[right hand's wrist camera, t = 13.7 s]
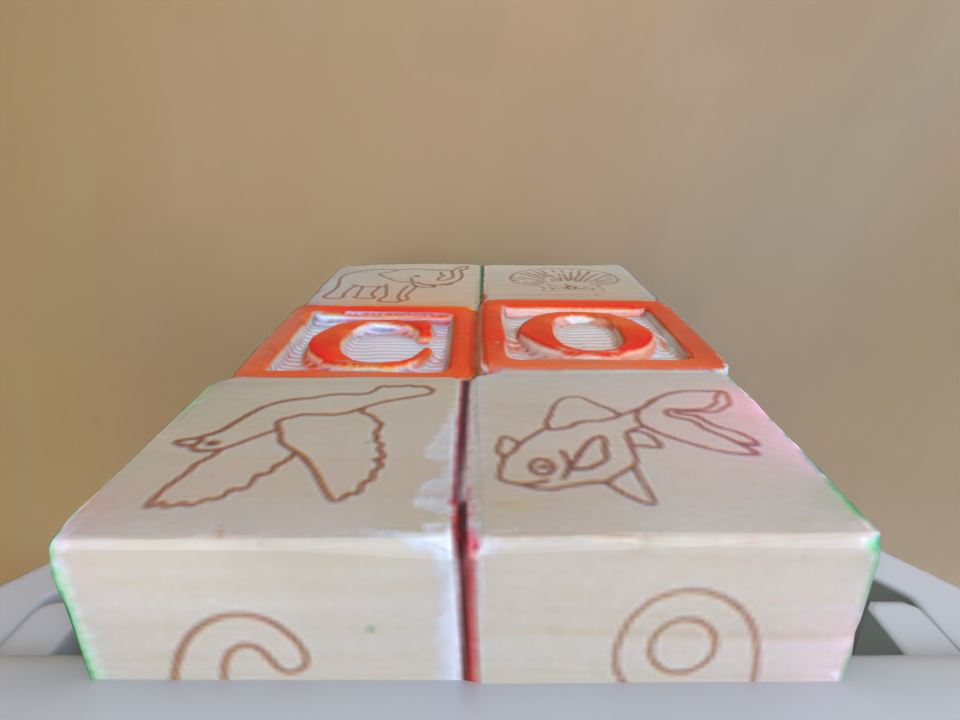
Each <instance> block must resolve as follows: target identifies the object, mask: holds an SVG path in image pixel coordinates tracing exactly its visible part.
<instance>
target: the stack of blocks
mask: <svg viewBox="0 0 960 720" xmlns="http://www.w3.org/2000/svg"><path fill="white" fill-rule="evenodd" d="M728 368H729V366H728V365H727V364H726V363H725V361H724V360H723V359H722V358H721V357H720V356H719V355H718V354H717V353H716V352H715V351H714V350H713V349H712V348H711V347H710V346H709V345H708V344H707V343H706V342H705V341H704V340H703V339H702V338H701V337H700V336H699V335H698V334H697V333H695V332H694V331H693V330H692V329H691V328H690V327H689V326H688V325H687V324H686V323H685V322H684V321H683V320H681V319H680V318H679V317H678V316H677V315H676V314H675V313H674V312H673V311H672V310H671V309H670V308H669V307H668V306H666V305H664V304H662V303H660V302H658V300H657V297H655V296H654V295H653V294H652V293H651V292H650V291H648V290H647V289H646V288H645V287H644V286H643V285H642V284H641V283H640V282H639V281H638V280H636V279H635V278H634V277H633V276H632V275H631V274H630V273H629V272H628V271H627V270H625V269H624V268H623V267H622V266H619V265H490V266H479V265H470V264H387V265H364V266H348V267H345V268H342V269H340V270H338V271H337V272H336V273H335V274H334V275H333V276H332V277H330V278H329V279H328V280H327V281H326V282H325V284H324V285H323V286H322V287H321V288H320V289H319V290H318V291H317V293H316V294H315V295H314V296H313V297H312V298H311V299H310V301H309V302H308V303H307V304H306V305H303V306H301V307H299V308H297V309H296V310H295V311H293V312H292V314H291V315H290V316H289V317H288V318H287V319H286V320H285V321H284V322H283V323H282V324H281V325H280V326H279V327H278V328H277V329H276V330H275V331H274V332H273V333H272V335H271V336H269V337H268V338H267V339H266V340H265V341H264V342H263V343H262V344H261V345H260V346H259V347H258V348H257V349H256V350H255V351H254V352H253V353H252V354H251V356H250V357H249V358H248V359H247V360H246V361H245V362H244V364H243V365H242V366H241V367H240V368H239V369H238V370H237V372H236V373H235V374H234V376H233V378H231V379H225V380H221V381H218V382H216V383H214V384H211V385H209V386H208V387H207V388H206V389H205V390H204V391H203V392H202V393H201V394H200V395H199V396H198V397H197V398H196V399H195V400H194V401H193V402H192V403H190V404H189V405H188V406H187V407H186V408H185V409H184V410H183V411H182V412H181V413H180V414H179V415H178V416H177V417H176V418H175V419H174V420H173V421H172V422H171V423H169V424H168V425H167V426H166V427H165V428H164V429H163V430H162V431H161V432H160V433H159V434H158V435H156V436H155V437H154V438H153V439H152V440H151V441H150V442H149V443H148V444H147V445H146V446H145V447H144V448H143V449H142V450H141V451H140V452H139V453H138V454H137V455H136V456H135V457H134V458H133V459H132V460H131V461H130V462H129V463H128V464H127V465H126V466H124V467H123V468H122V469H121V470H120V471H119V472H118V473H117V474H116V475H115V476H114V477H113V478H112V479H111V480H109V481H108V482H107V483H106V484H105V485H104V486H103V487H102V488H101V489H100V490H99V491H98V492H97V493H96V494H94V495H93V496H92V497H91V498H90V499H89V500H88V501H87V502H86V503H85V504H84V505H83V506H82V507H81V508H79V509H78V510H77V511H76V512H75V513H74V514H73V515H72V516H71V517H70V518H69V519H68V521H67V522H66V523H65V524H64V525H63V527H62V528H61V529H60V530H59V531H58V533H57V534H56V535H55V536H54V537H53V539H52V540H51V541H50V546H49V556H50V565H51V574H52V578H53V580H54V583H55V585H56V587H57V589H58V591H59V593H60V596H61V598H62V600H63V602H64V605H65V607H66V610H67V613H68V616H69V619H70V622H71V625H72V628H73V630H74V633H75V636H76V639H77V642H78V645H79V648H80V650H81V653H82V656H83V659H84V662H85V664H86V667H87V670H88V673H89V675H90V678H91V679H113V680H465V681H470V682H476V683H481V684H523V683H636V682H795V681H843V680H844V678H845V675H846V673H847V670H848V668H849V665H850V662H851V656H852V649H853V642H854V636H855V631H856V629H857V627H858V624H859V622H860V620H861V617H862V614H863V611H864V607H865V604H866V601H867V598H868V594H869V591H870V588H871V585H872V582H873V579H874V576H875V573H876V570H877V567H878V564H879V559H880V552H881V538H880V532H879V531H878V530H877V529H876V528H875V527H874V526H873V525H872V524H871V523H870V522H869V521H868V520H867V519H866V518H865V517H864V516H863V515H862V514H861V513H860V512H859V510H858V509H857V508H856V507H855V506H854V505H853V504H852V503H851V502H850V501H849V500H848V499H847V497H846V496H845V495H844V494H843V493H842V492H841V491H840V490H839V489H838V488H837V487H836V486H835V484H834V483H833V482H832V481H831V480H830V479H829V478H828V477H827V476H826V475H825V474H824V472H823V471H822V470H821V469H820V468H819V467H818V466H817V465H816V464H815V463H814V462H813V461H812V460H811V459H810V458H809V457H808V456H807V455H806V454H805V453H804V452H803V451H802V450H801V449H800V448H799V447H798V446H797V445H796V444H795V443H794V442H793V441H792V440H791V439H790V438H789V437H788V436H787V435H786V434H785V433H784V432H783V431H782V430H781V429H780V428H779V427H778V426H777V425H776V424H775V423H774V422H773V421H772V420H771V419H770V418H769V417H768V416H767V415H766V414H765V412H764V411H763V410H762V409H761V408H760V407H759V406H758V404H757V403H756V402H755V401H754V400H753V399H752V398H751V397H750V396H749V395H748V394H746V393H745V392H744V391H743V390H742V389H741V388H739V387H738V386H737V385H736V384H735V382H734V381H733V380H732V379H731V378H730V377H728Z"/></svg>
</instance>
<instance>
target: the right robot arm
mask: <svg viewBox="0 0 960 720" xmlns="http://www.w3.org/2000/svg"><path fill="white" fill-rule="evenodd" d="M0 720H960V588H959V587H956V586H954V585H952V584H950V583H948V582H946V581H944V580H942V579H940V578H938V577H935V576H933V575H931V574H929V573H927V572H925V571H923V570H921V569H919V568H917V567H914V566H912V565H910V564H908V563H906V562H904V561H902V560H900V559H898V558H896V557H894V556H891V555H889V554H887V553H885V552H883V551H881V552H880V559H879V564H878V567H877V570H876V573H875V576H874V579H873V582H872V585H871V588H870V591H869V594H868V598H867V601H866V604H865V607H864V611H863V614H862V617H861V620H860V622H859V624H858V627H857V629H856V631H855V636H854V642H853V649H852V656H851V662H850V665H849V668H848V670H847V673H846V675H845V678H844V680H843V681H795V682H636V683H523V684H481V683H476V682H470V681H465V680H113V679H91V678H90V675H89V673H88V670H87V667H86V664H85V662H84V659H83V656H82V653H81V650H80V648H79V645H78V642H77V639H76V636H75V633H74V630H73V628H72V625H71V622H70V619H69V616H68V613H67V610H66V607H65V605H64V602H63V600H62V598H61V596H60V593H59V591H58V589H57V587H56V585H55V583H54V580H53V578H52V574H51V565H50V563H47V564H45V565H43V566H41V567H39V568H37V569H35V570H33V571H31V572H28V573H26V574H24V575H22V576H20V577H18V578H16V579H14V580H12V581H9V582H7V583H5V584H3V585H1V586H0Z"/></svg>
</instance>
